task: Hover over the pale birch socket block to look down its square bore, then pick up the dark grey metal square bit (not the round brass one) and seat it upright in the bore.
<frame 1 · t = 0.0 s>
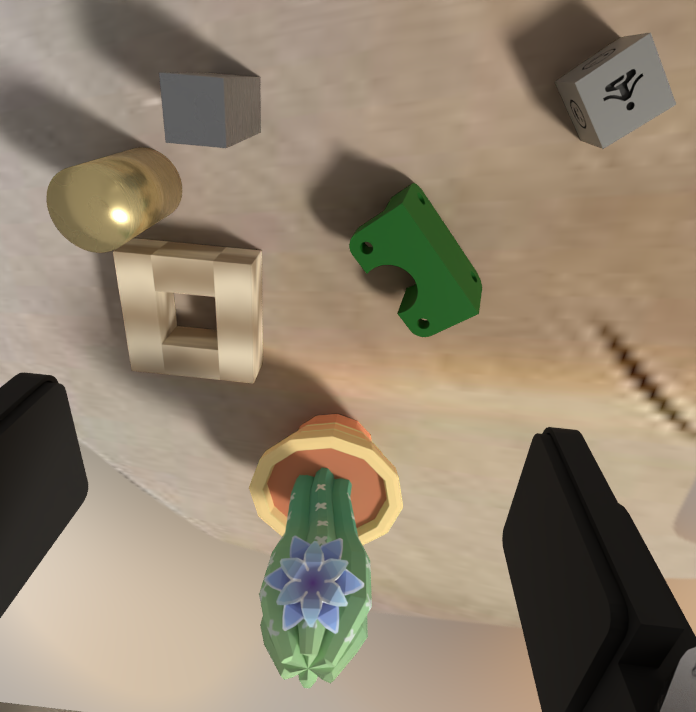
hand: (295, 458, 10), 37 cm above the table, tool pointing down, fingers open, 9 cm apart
socket block: (201, 304, 50), on the table
clamp: (415, 253, 46), on the table
potted cactus: (333, 445, 57), on the table
round bit: (148, 184, 44), on the table
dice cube: (598, 91, 39), on the table
square bit: (235, 103, 41), on the table
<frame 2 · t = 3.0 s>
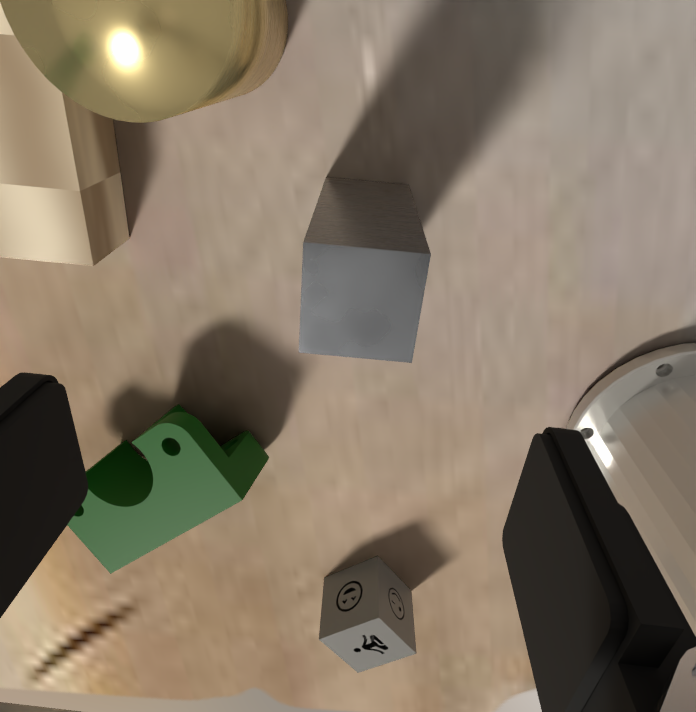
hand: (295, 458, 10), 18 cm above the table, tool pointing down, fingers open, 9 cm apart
clamp: (178, 445, 34), on the table
round bit: (216, 17, 21), on the table
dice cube: (368, 581, 40), on the table
square bit: (363, 221, 25), on the table
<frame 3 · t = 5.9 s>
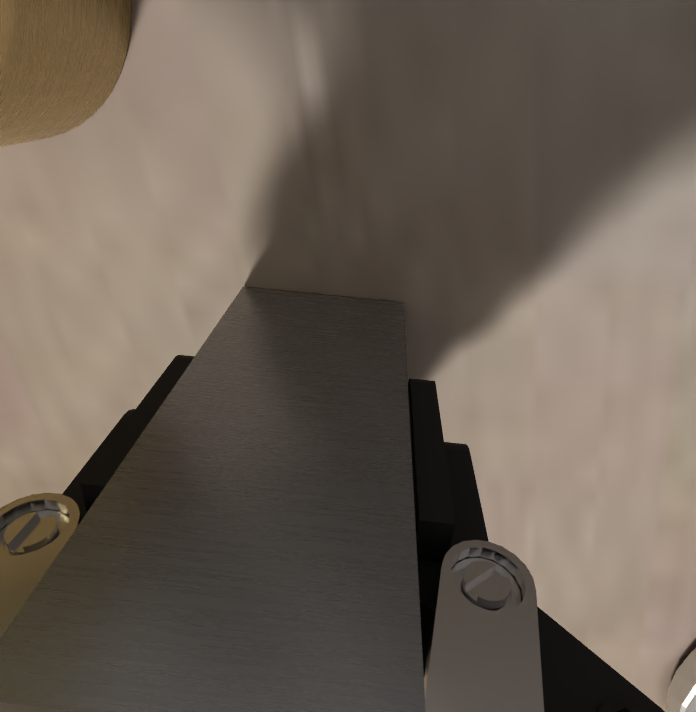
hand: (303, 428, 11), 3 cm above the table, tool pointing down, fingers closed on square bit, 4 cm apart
square bit: (319, 364, 14), on the table, touching gripper
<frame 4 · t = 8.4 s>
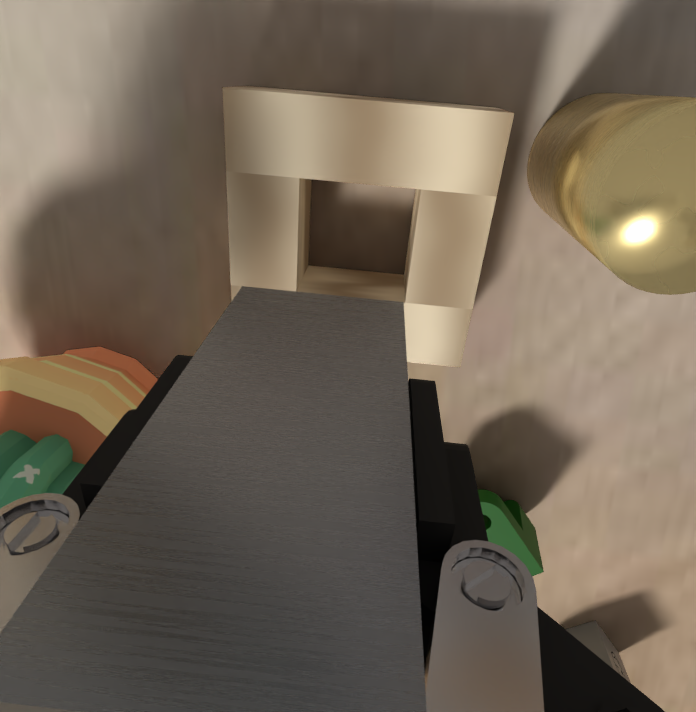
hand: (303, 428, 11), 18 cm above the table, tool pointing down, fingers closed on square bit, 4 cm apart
socket block: (360, 222, 27), on the table
clamp: (437, 510, 37), on the table
potted cactus: (110, 402, 35), on the table
round bit: (590, 161, 25), on the table
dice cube: (577, 642, 43), on the table
square bit: (318, 363, 13), point 16 cm above the table, touching gripper
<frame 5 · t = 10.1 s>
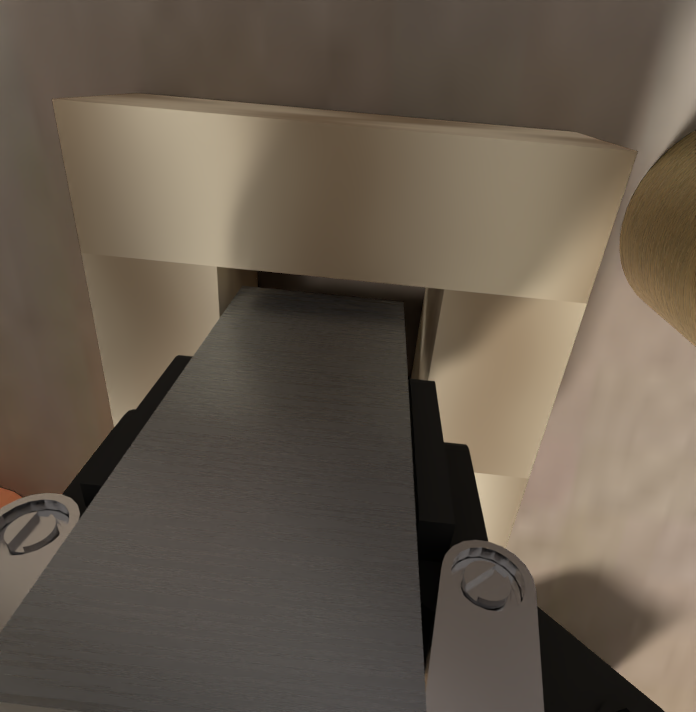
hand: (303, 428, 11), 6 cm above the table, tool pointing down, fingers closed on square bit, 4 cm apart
socket block: (338, 312, 17), on the table
square bit: (318, 363, 13), point 4 cm above the table, touching gripper
when the fingers open (4 cm above the table, at t = 11.2 s): square bit drops 2 cm, resting in socket block.
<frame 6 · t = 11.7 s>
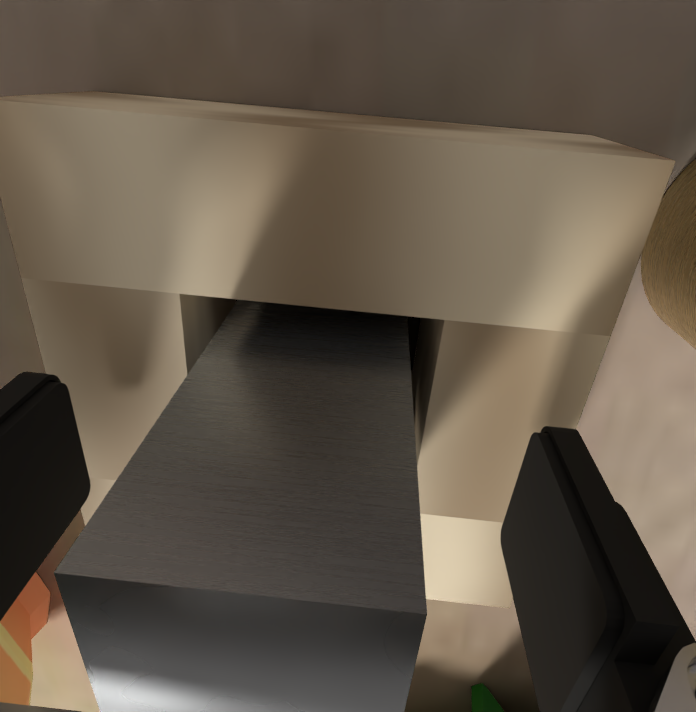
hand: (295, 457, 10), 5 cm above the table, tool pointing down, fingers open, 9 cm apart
socket block: (325, 335, 15), on the table
square bit: (329, 335, 15), resting in socket block
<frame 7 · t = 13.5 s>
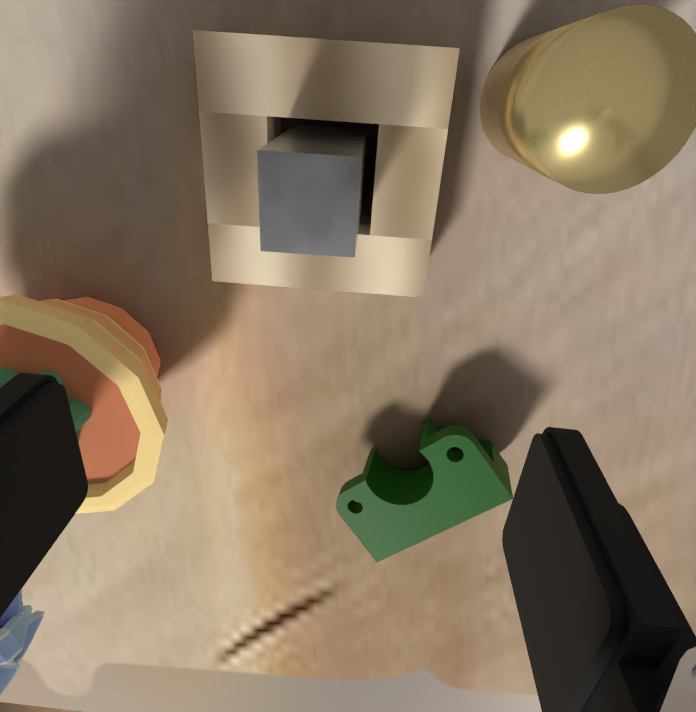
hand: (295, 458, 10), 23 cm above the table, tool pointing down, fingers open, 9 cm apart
socket block: (328, 165, 29), on the table
clamp: (417, 453, 40), on the table
potted cactus: (99, 353, 36), on the table
round bit: (537, 101, 27), on the table
square bit: (329, 165, 29), resting in socket block
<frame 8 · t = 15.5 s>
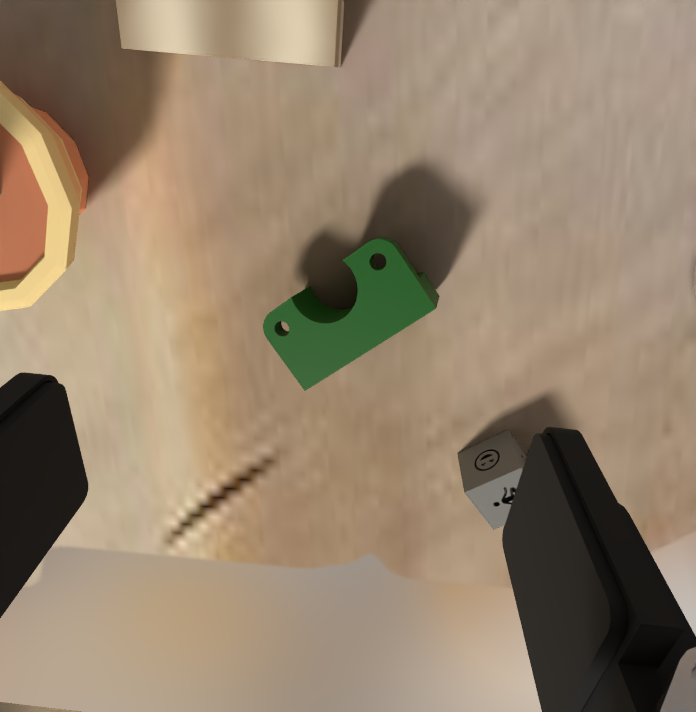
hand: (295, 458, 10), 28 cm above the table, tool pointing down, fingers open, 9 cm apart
clamp: (353, 293, 39), on the table
potted cactus: (28, 169, 36), on the table
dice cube: (495, 458, 46), on the table
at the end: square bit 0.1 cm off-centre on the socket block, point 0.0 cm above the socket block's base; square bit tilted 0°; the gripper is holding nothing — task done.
